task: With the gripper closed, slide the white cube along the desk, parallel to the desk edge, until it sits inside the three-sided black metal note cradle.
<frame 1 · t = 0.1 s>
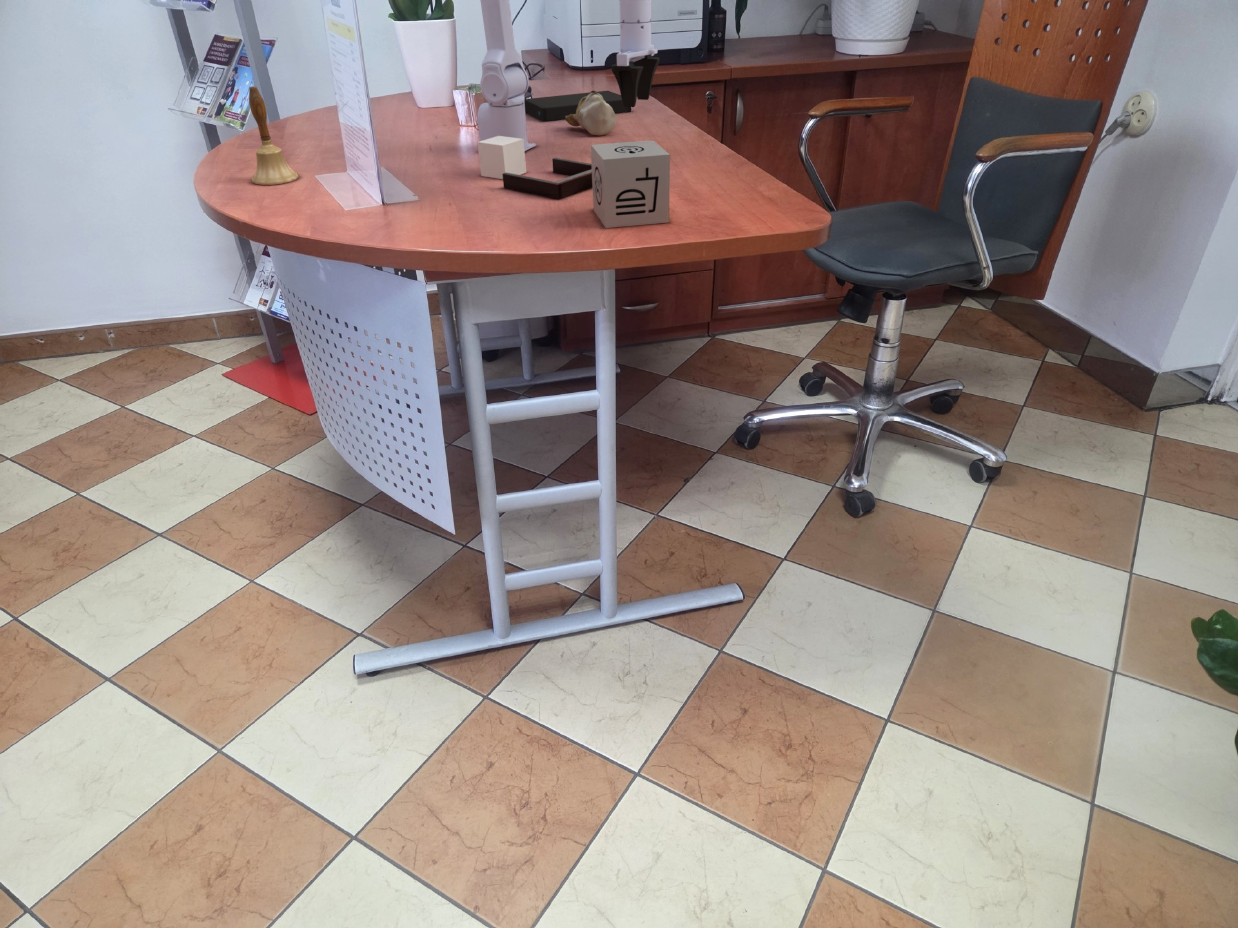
hand: (636, 103, 153), 10 cm above the table, tool pointing down, fingers open, 7 cm apart
icon cube: (630, 217, 127), on the table
white cube: (503, 175, 150), on the table
note cradle: (555, 184, 143), on the table
external hard drive: (576, 113, 200), on the table
ceramic sculpture: (594, 132, 180), on the table
hand bell: (275, 180, 151), on the table
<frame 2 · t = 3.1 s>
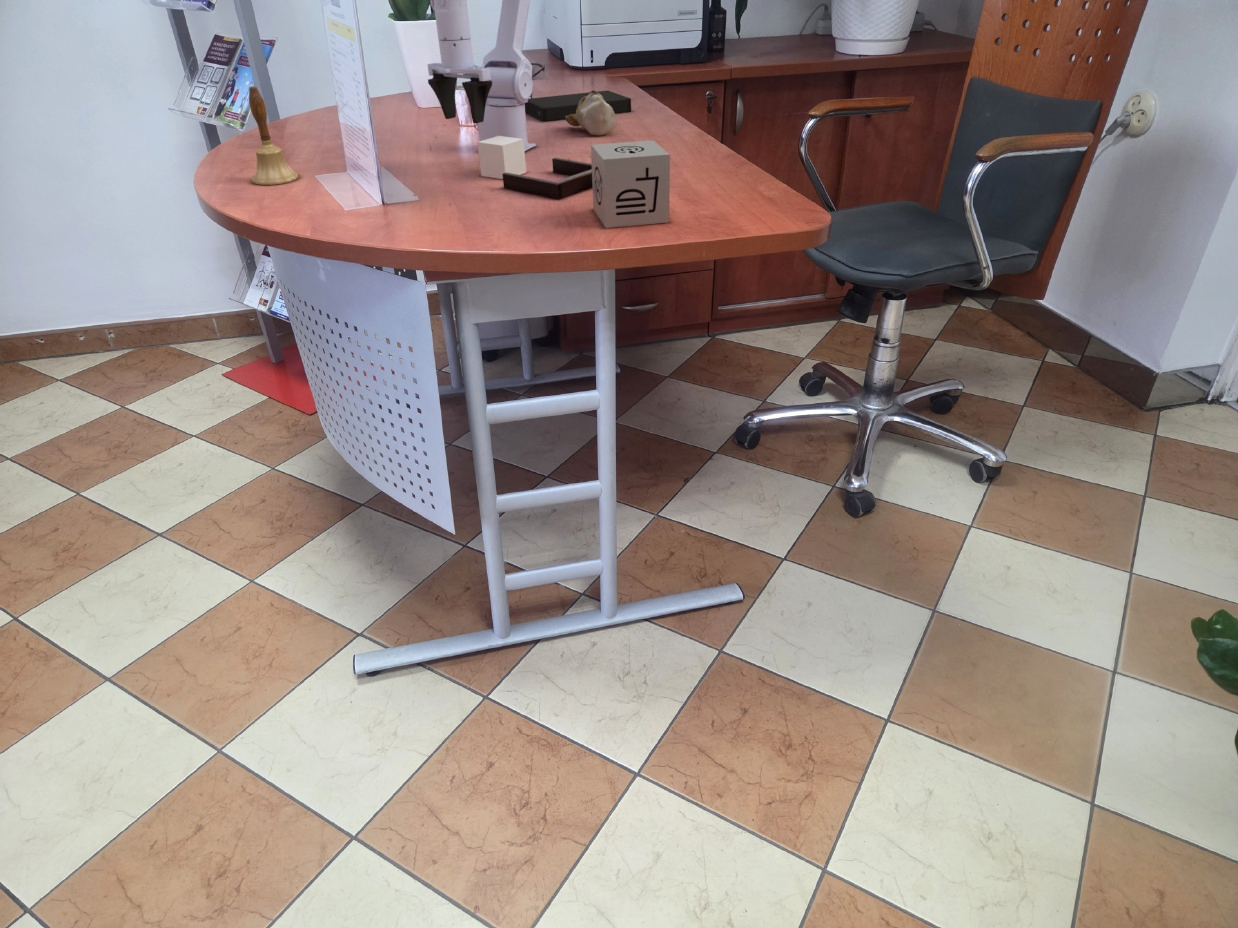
hand: (464, 120, 151), 8 cm above the table, tool pointing down, fingers open, 7 cm apart
nothing on the table moved.
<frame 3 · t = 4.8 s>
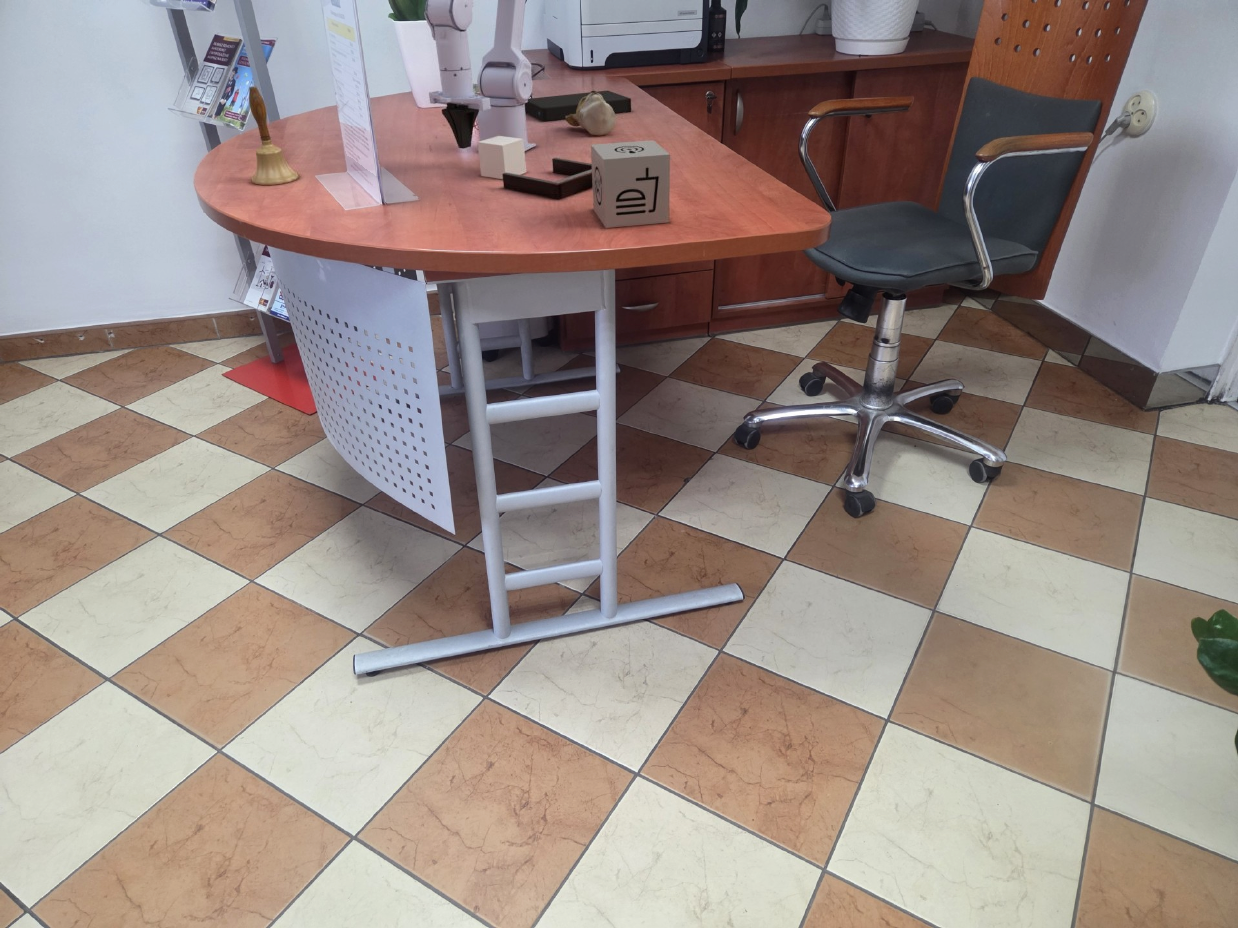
hand: (464, 147, 153), 4 cm above the table, tool pointing down, fingers closed
nothing on the table moved.
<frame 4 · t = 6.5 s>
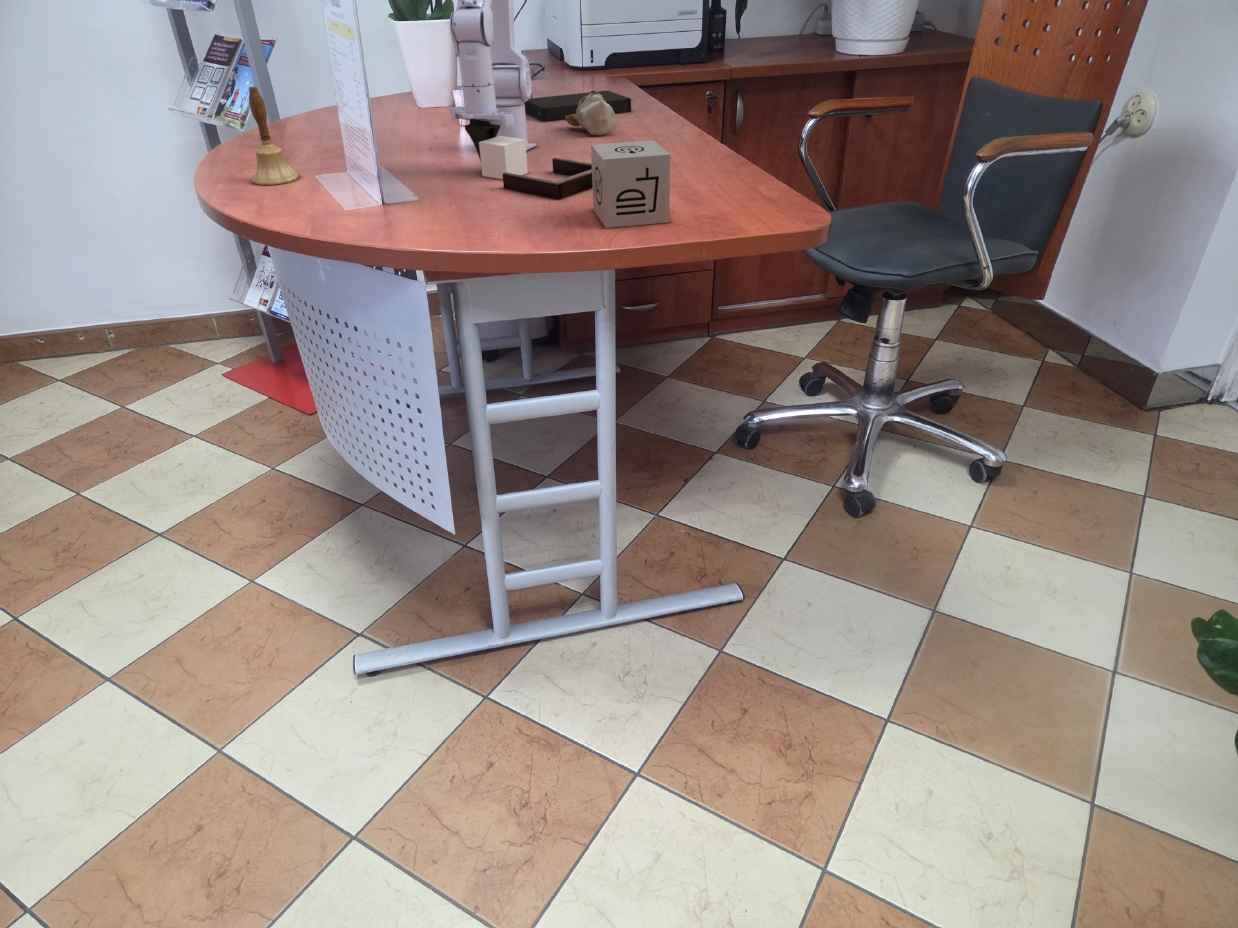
hand: (486, 163, 152), 1 cm above the table, tool pointing down, fingers closed
white cube: (505, 175, 150), on the table, touching gripper
everything else where it was.
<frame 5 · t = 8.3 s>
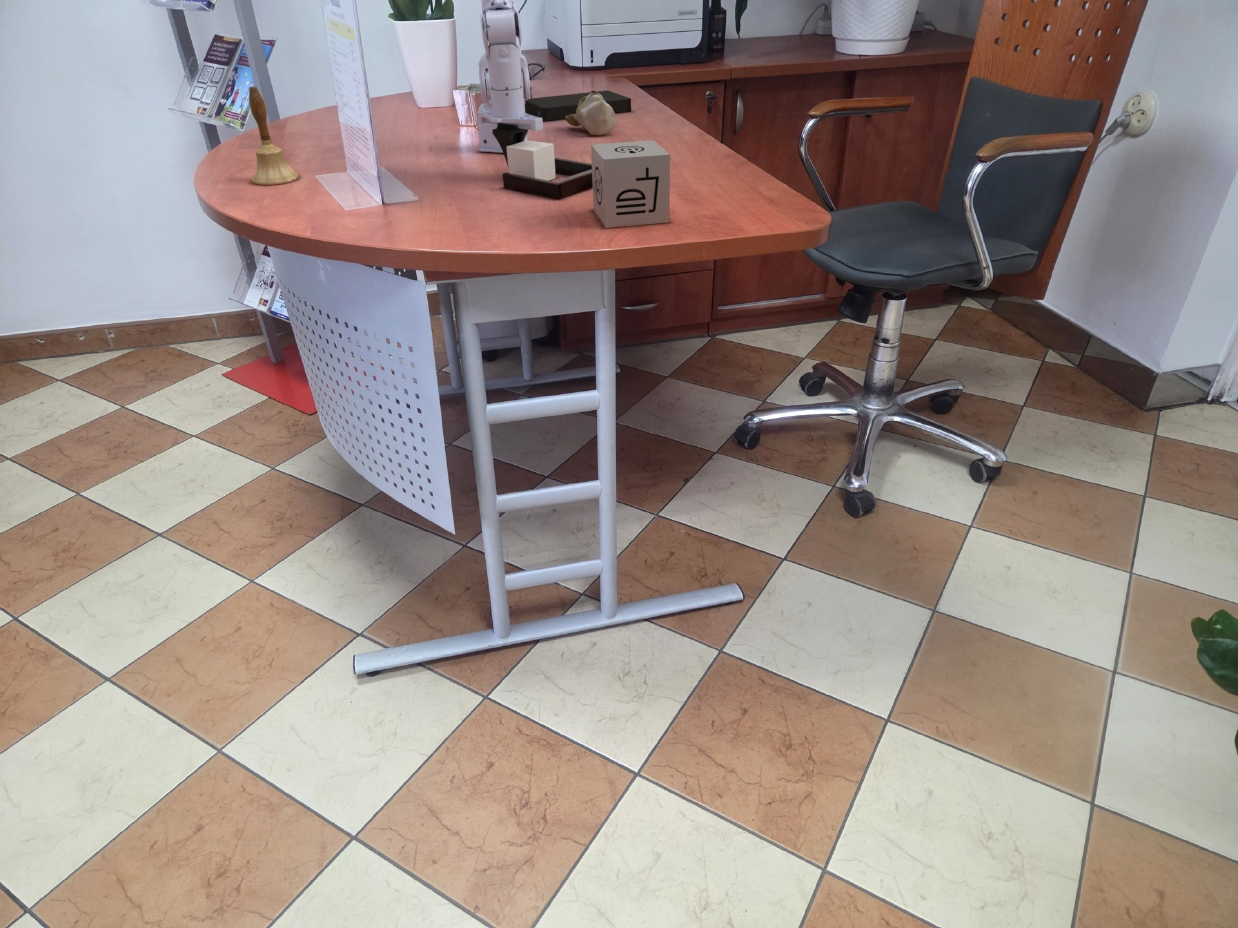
hand: (513, 168, 148), 1 cm above the table, tool pointing down, fingers closed
white cube: (532, 180, 146), on the table, touching gripper
everything else where it was.
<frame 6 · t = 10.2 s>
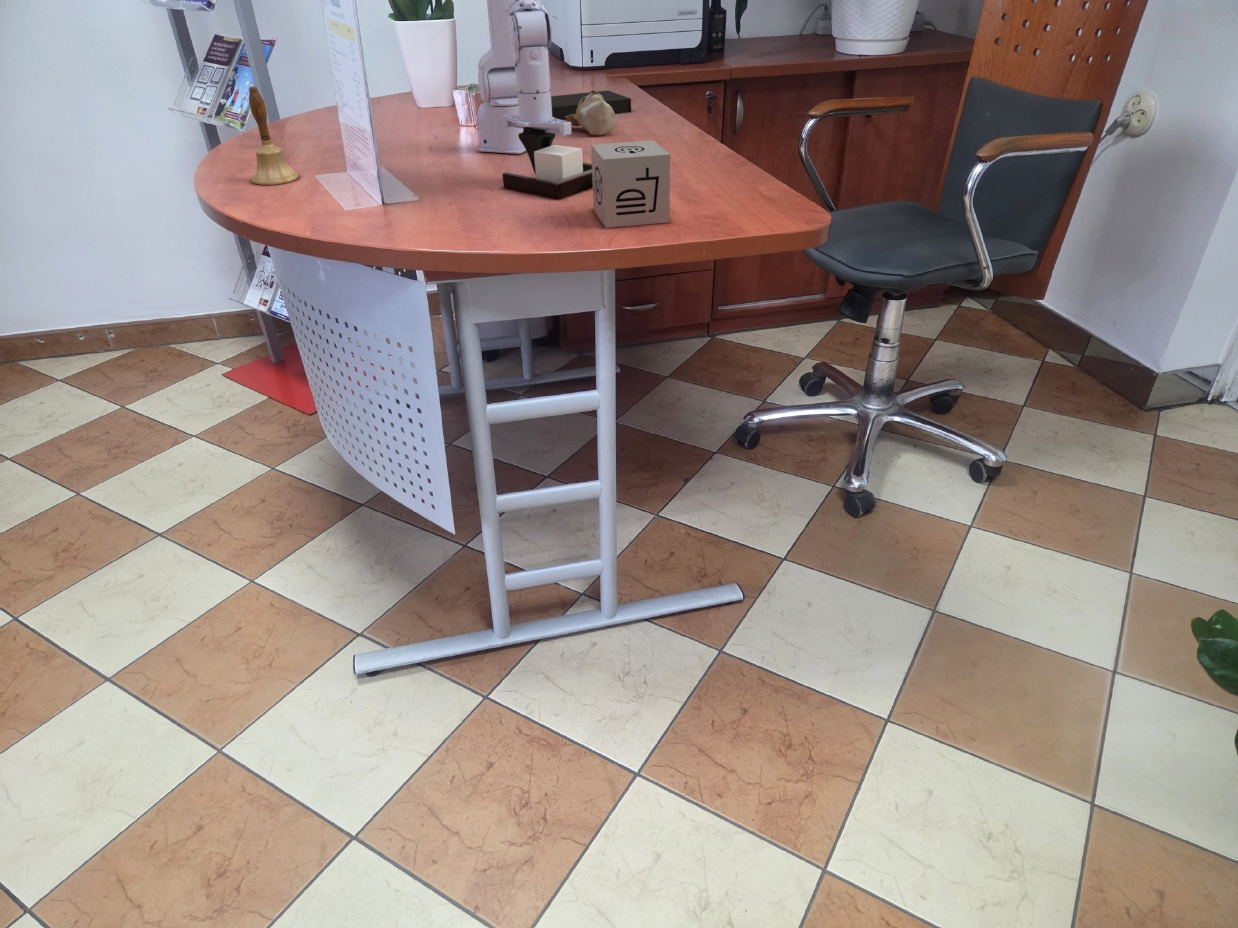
hand: (540, 173, 144), 1 cm above the table, tool pointing down, fingers closed
white cube: (560, 186, 143), on the table, touching gripper
everything else where it was.
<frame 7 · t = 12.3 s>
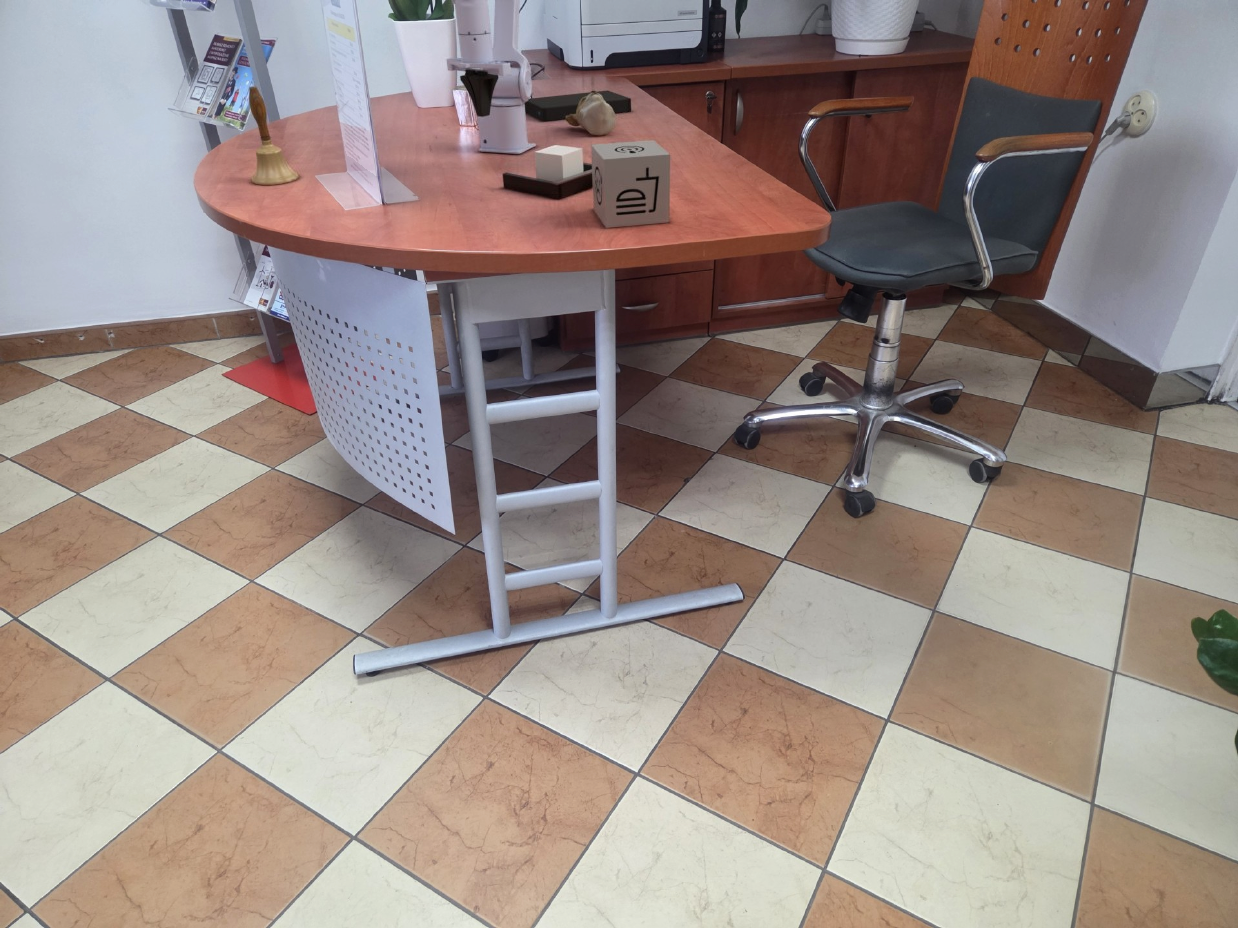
hand: (483, 116, 149), 9 cm above the table, tool pointing down, fingers closed
white cube: (560, 186, 143), on the table
everything else where it was.
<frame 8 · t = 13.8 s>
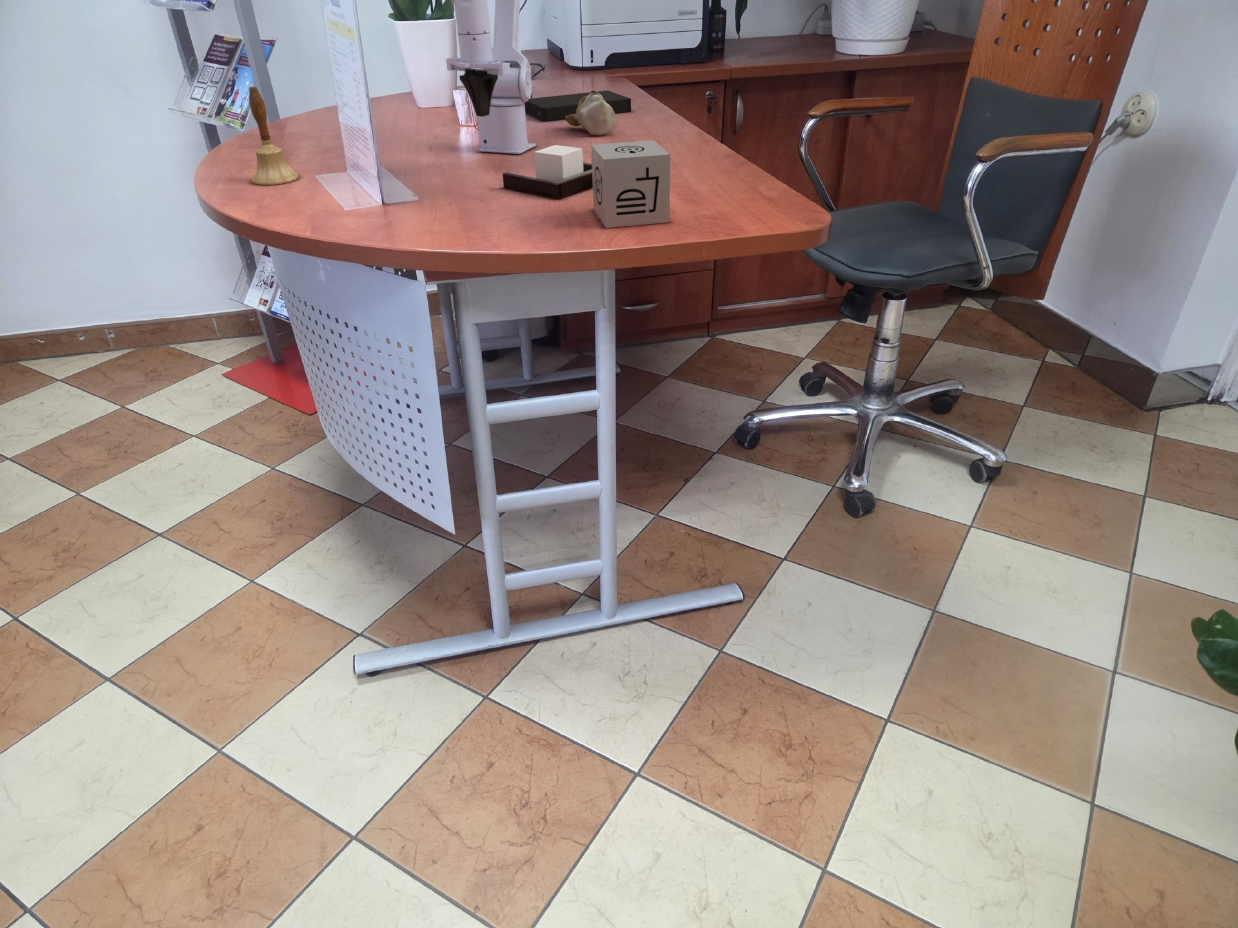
hand: (483, 115, 149), 9 cm above the table, tool pointing down, fingers closed
nothing on the table moved.
at the end: white cube inside the target area on the note cradle (0.8 cm from its centre), point 0.0 cm above the note cradle's base; white cube tilted 0° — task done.
